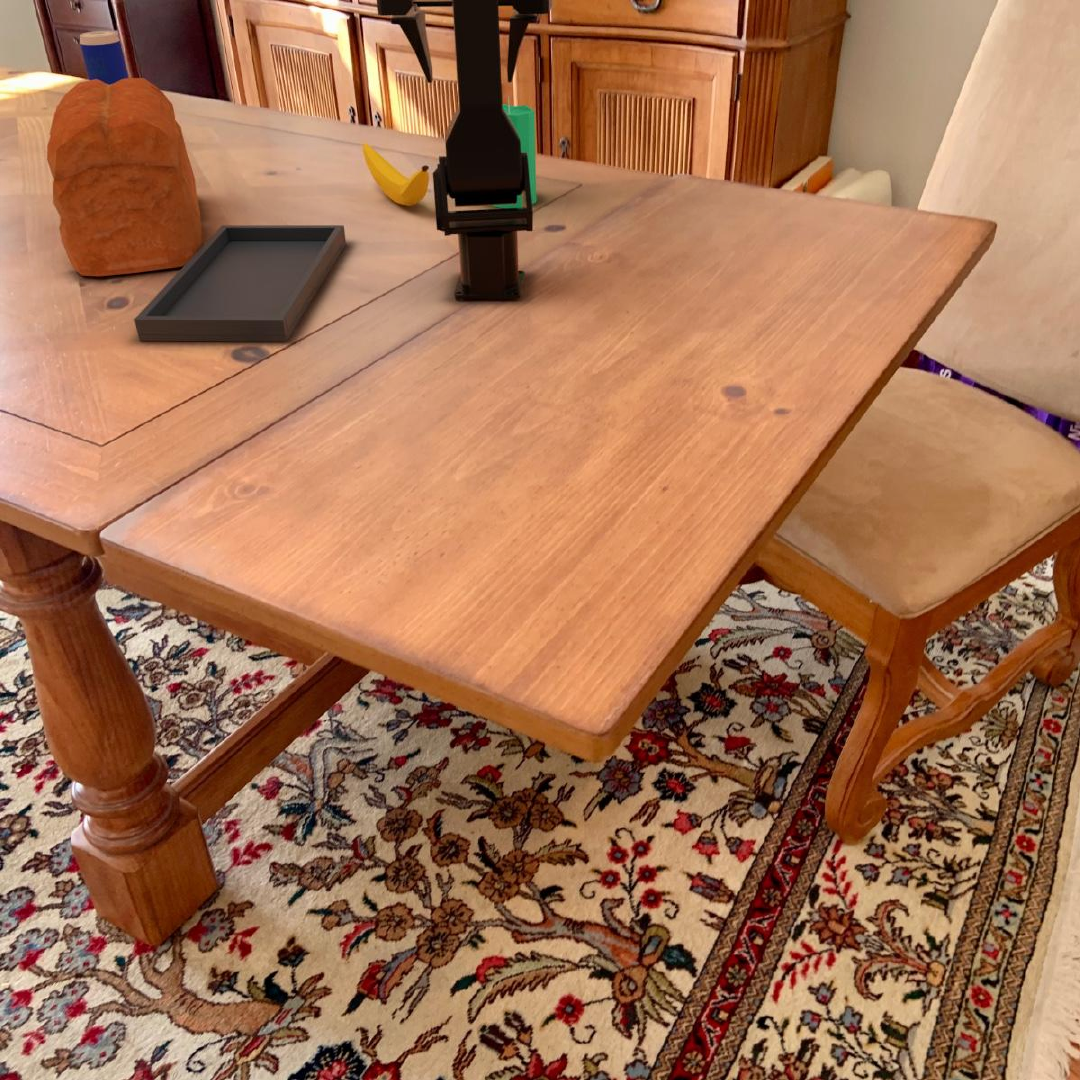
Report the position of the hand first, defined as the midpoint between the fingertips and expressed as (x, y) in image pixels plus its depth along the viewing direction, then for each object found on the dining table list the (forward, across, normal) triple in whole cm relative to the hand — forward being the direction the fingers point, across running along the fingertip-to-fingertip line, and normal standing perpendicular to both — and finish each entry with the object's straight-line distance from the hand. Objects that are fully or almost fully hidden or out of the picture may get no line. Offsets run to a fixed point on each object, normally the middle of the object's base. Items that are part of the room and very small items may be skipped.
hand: (470, 82), depth 117 cm
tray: (+13, +19, +29) cm, 37 cm away
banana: (+14, +10, 0) cm, 17 cm away
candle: (+14, -4, 0) cm, 14 cm away
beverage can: (+14, +54, -24) cm, 61 cm away
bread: (+14, +37, +13) cm, 41 cm away
